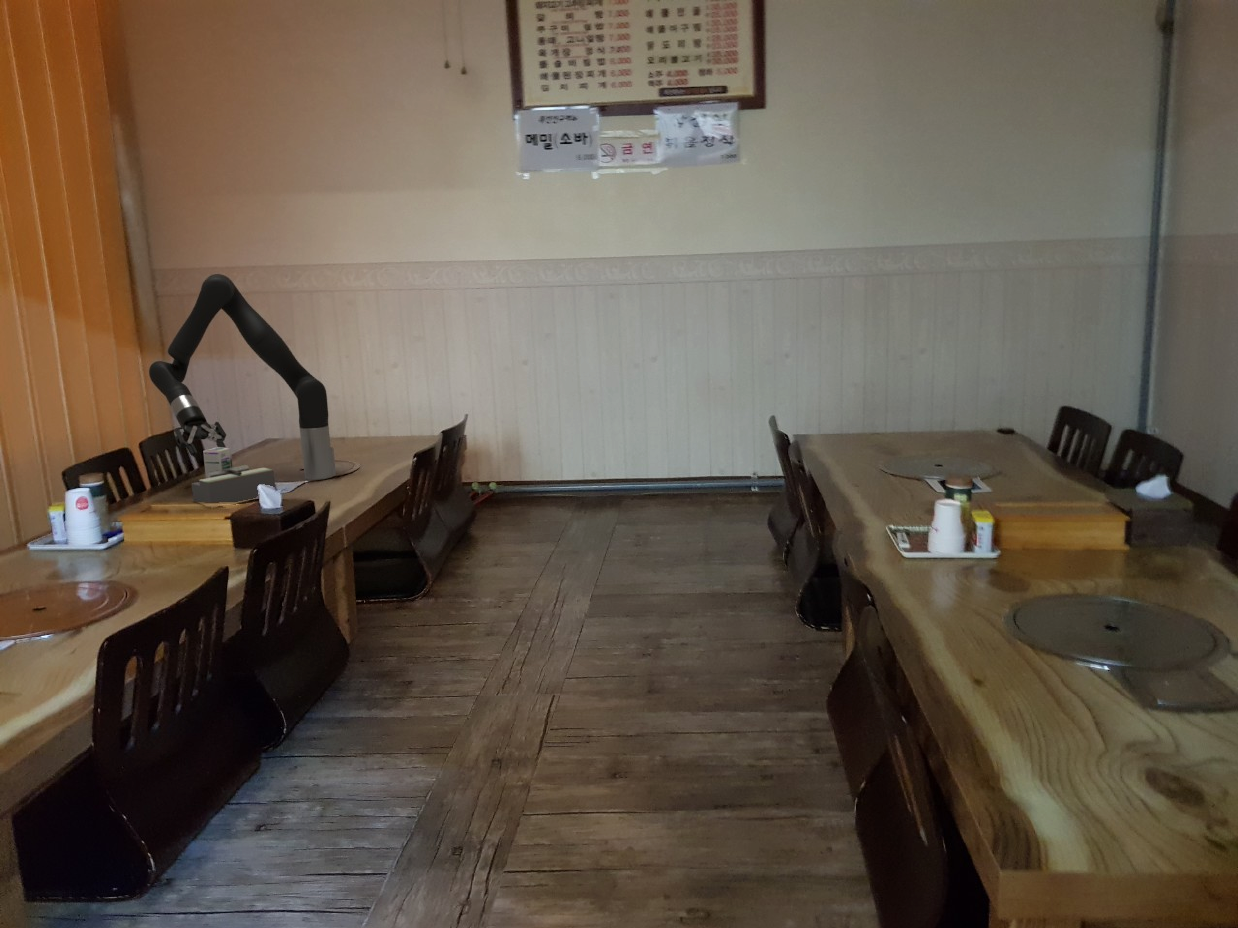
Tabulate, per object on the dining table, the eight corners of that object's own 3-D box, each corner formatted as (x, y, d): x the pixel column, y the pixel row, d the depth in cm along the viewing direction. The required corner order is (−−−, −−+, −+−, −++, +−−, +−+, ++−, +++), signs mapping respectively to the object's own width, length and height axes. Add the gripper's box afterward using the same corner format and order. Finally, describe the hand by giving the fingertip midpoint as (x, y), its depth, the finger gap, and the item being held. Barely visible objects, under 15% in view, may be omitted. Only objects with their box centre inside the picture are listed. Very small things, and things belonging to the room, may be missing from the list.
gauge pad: (248, 491, 302) (245, 464, 300) (262, 494, 296) (259, 467, 295) (210, 499, 293) (207, 472, 292) (223, 502, 288) (220, 475, 286)
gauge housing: (255, 490, 307) (252, 465, 306) (276, 495, 299) (273, 469, 297) (192, 503, 293) (188, 477, 291) (211, 509, 285) (208, 482, 283)
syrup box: (223, 497, 298) (220, 450, 296) (206, 497, 300) (202, 449, 297) (235, 494, 304) (231, 447, 301) (218, 493, 305) (214, 446, 302)
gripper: (167, 408, 300) (189, 449, 295) (213, 402, 310) (235, 441, 305) (162, 424, 304) (184, 464, 299) (207, 417, 315) (229, 456, 309)
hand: (209, 453), depth 302 cm, fingers open, 8 cm apart
